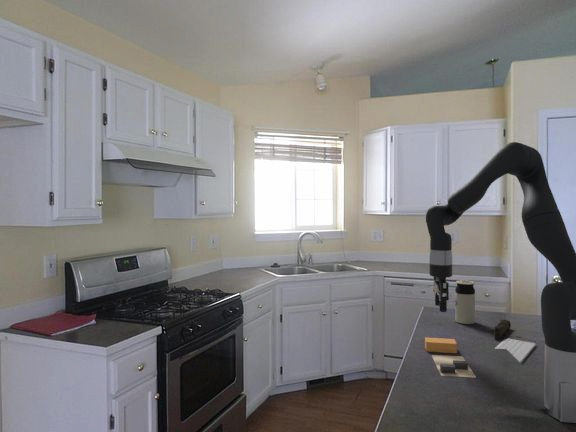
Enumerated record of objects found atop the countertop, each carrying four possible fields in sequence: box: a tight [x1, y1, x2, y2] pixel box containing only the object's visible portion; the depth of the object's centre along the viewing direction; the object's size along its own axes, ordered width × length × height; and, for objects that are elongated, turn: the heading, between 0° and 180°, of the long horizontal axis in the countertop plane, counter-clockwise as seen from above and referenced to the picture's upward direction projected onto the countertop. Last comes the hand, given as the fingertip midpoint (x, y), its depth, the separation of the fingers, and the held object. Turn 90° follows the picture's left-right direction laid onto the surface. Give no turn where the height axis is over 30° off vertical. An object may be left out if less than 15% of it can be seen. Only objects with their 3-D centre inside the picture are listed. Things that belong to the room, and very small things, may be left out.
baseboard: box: [494, 334, 537, 364], centre depth 146 cm, size 31×3×12 cm
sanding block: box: [424, 336, 458, 354], centre depth 146 cm, size 5×10×5 cm, turn 78°
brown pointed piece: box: [493, 319, 512, 340], centre depth 168 cm, size 19×4×5 cm, turn 139°
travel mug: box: [454, 279, 476, 325], centre depth 184 cm, size 8×8×18 cm
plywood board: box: [431, 354, 477, 379], centre depth 132 cm, size 17×10×2 cm, turn 170°
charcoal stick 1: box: [440, 364, 455, 374], centre depth 127 cm, size 2×4×2 cm, turn 80°
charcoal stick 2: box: [453, 360, 469, 370], centre depth 130 cm, size 2×4×2 cm, turn 80°
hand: (440, 308), depth 146 cm, fingers open, 8 cm apart
